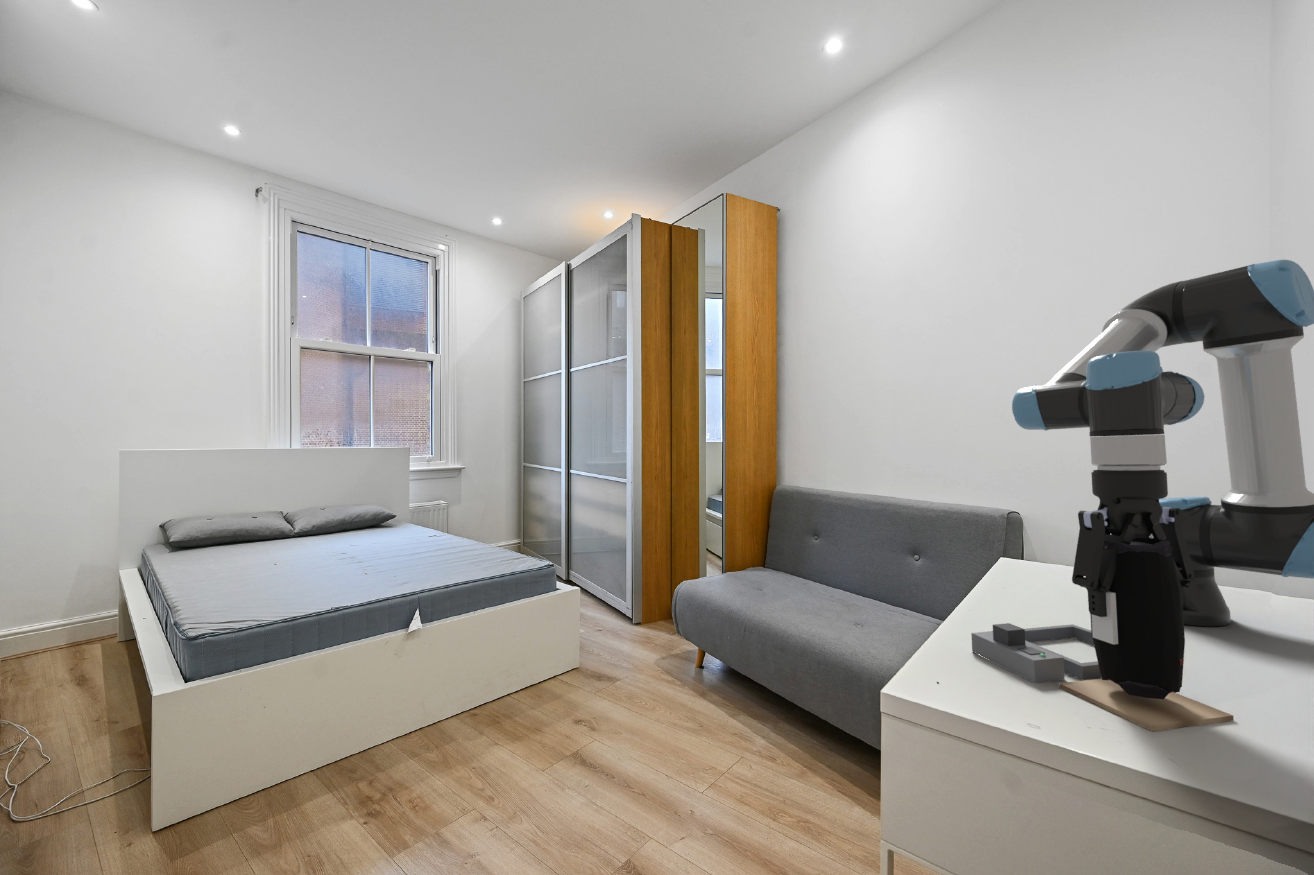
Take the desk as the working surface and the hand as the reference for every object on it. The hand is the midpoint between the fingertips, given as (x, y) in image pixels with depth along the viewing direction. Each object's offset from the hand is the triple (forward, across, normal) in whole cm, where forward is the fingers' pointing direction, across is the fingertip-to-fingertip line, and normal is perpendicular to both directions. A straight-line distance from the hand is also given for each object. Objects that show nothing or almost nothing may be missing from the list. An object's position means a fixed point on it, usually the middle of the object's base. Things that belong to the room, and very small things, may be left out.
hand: (1136, 637), depth 69 cm
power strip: (+9, +6, -14) cm, 17 cm away
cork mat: (+9, 0, 0) cm, 9 cm away
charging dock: (+9, -5, -15) cm, 18 cm away
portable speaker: (+7, 0, 0) cm, 7 cm away
